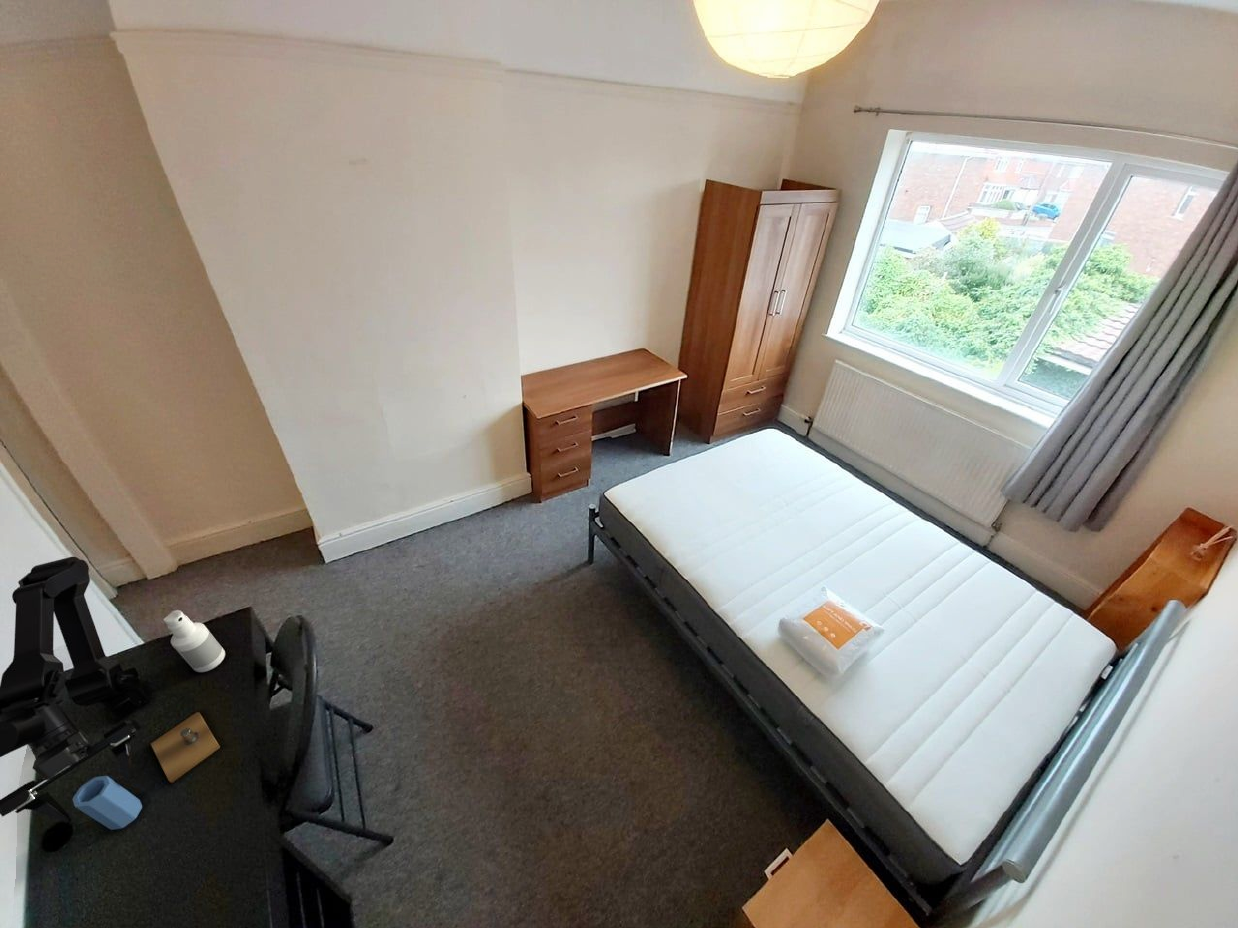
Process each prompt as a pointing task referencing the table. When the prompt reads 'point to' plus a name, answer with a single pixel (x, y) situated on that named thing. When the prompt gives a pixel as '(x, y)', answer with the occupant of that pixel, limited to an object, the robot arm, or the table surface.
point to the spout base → (184, 746)
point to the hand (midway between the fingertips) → (101, 799)
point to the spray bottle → (194, 642)
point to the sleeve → (107, 802)
